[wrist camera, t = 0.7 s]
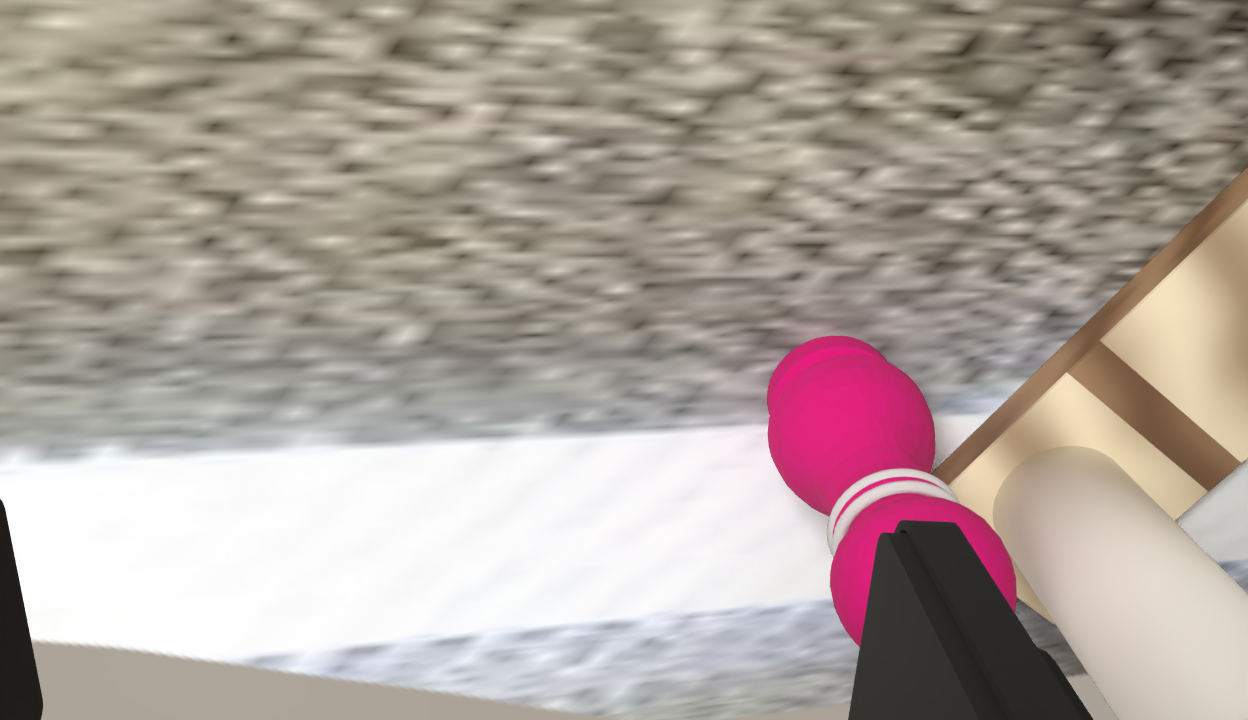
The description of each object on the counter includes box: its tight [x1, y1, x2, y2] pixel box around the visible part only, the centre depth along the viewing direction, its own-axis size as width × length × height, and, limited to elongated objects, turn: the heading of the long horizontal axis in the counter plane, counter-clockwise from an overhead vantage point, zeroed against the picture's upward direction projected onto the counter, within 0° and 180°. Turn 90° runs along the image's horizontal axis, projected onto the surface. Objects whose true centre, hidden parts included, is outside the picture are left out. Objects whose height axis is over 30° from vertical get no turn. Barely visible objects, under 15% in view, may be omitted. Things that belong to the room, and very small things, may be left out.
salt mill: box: [993, 446, 1248, 720], centre depth 37 cm, size 7×7×21 cm
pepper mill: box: [767, 336, 1017, 647], centre depth 38 cm, size 7×7×20 cm
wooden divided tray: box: [931, 167, 1248, 624], centre depth 46 cm, size 22×10×2 cm, turn 142°
